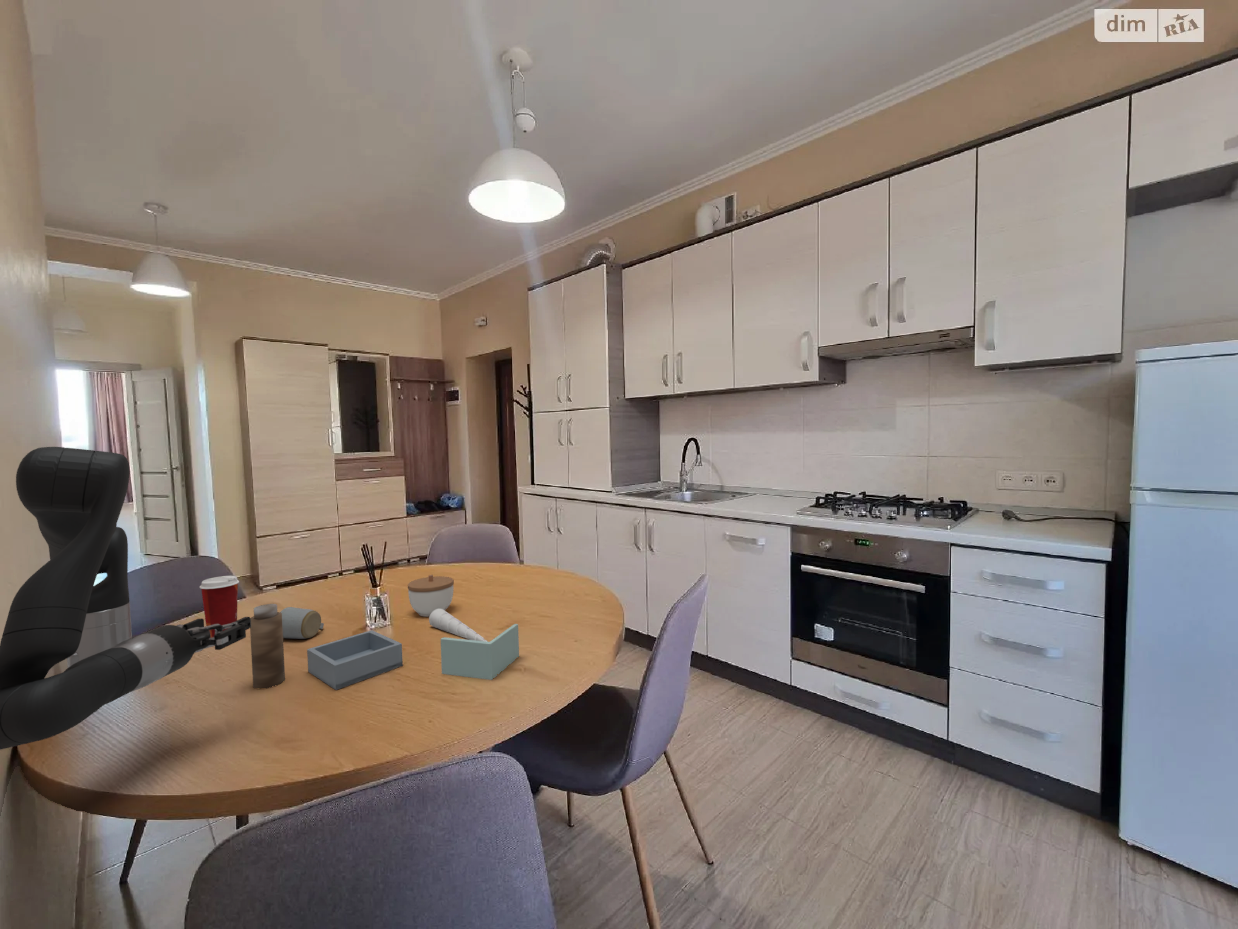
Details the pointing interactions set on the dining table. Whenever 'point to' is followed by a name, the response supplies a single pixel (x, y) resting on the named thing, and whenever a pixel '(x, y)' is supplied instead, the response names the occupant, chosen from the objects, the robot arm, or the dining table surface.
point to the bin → (354, 659)
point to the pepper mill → (267, 646)
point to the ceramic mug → (300, 623)
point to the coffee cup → (220, 600)
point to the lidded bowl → (430, 594)
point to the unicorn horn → (452, 625)
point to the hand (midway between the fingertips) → (225, 622)
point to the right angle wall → (479, 655)
